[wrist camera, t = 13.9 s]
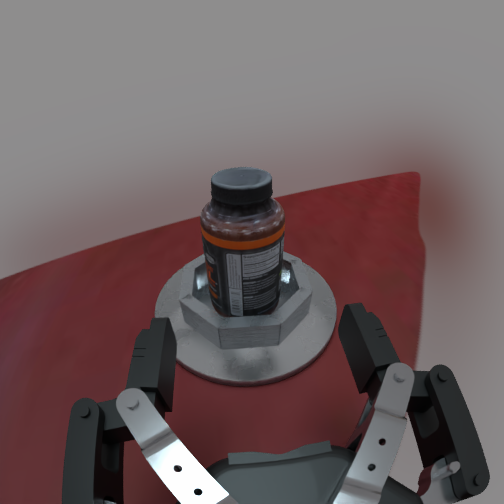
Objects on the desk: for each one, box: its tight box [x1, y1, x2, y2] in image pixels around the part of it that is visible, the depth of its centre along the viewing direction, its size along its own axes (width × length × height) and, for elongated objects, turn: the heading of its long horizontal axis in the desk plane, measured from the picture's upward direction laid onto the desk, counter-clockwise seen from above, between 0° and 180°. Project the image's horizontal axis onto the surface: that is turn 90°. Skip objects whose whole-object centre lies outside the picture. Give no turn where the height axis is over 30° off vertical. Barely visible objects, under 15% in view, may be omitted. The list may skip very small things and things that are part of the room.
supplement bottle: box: [200, 167, 285, 318], centre depth 21 cm, size 6×6×11 cm
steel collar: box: [155, 251, 337, 386], centre depth 24 cm, size 16×16×4 cm
